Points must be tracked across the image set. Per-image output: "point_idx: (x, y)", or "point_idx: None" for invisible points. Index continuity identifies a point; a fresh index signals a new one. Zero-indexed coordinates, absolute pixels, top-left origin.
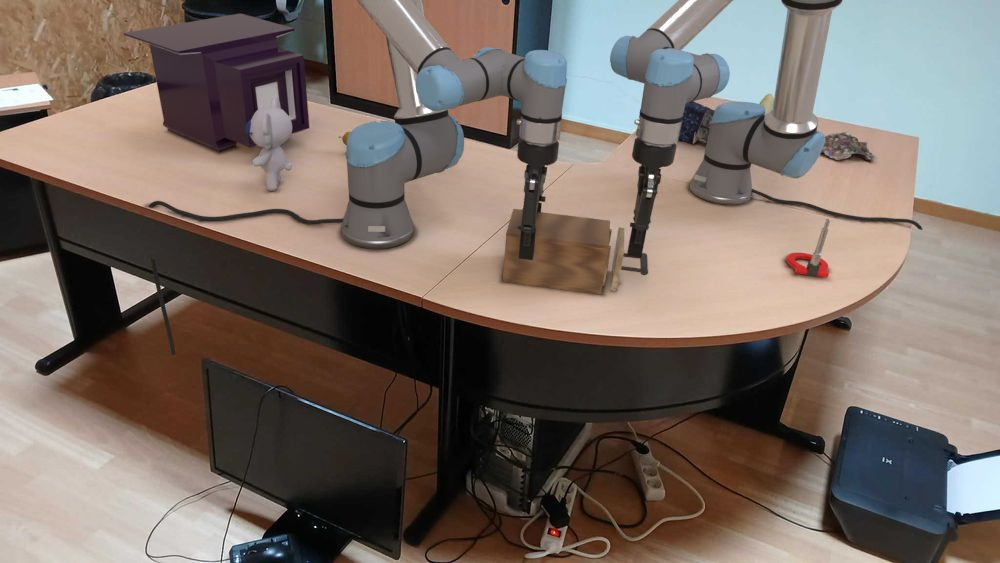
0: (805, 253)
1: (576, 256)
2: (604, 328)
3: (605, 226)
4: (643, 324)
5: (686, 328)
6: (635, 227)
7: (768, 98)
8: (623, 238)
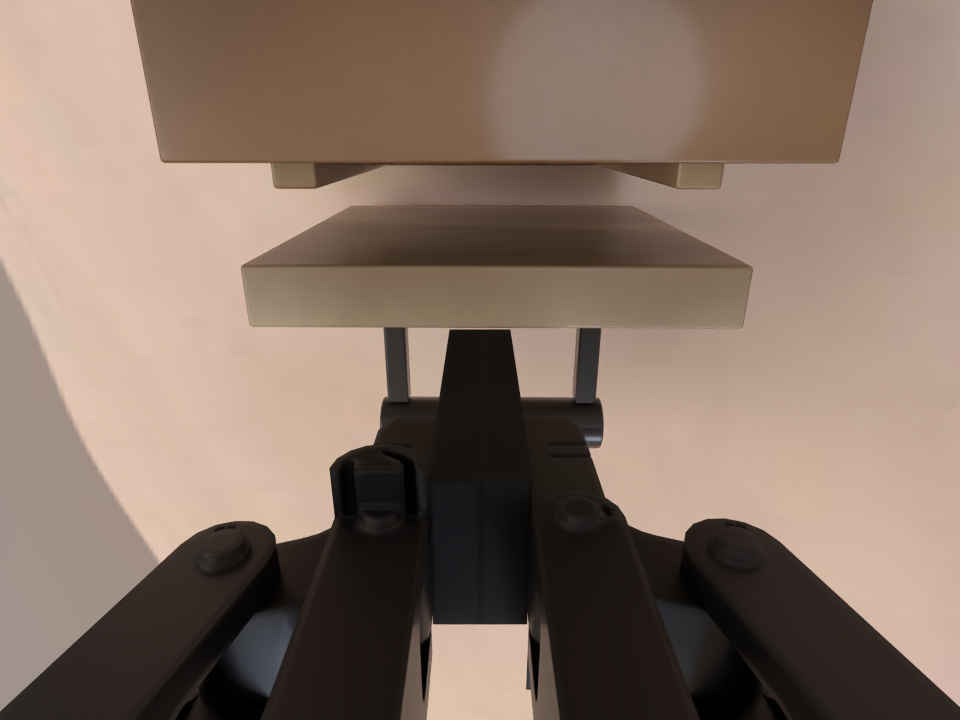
0: None
1: None
2: (5, 177)
3: (659, 102)
4: (137, 370)
5: None
6: (181, 551)
7: None
8: (495, 319)
